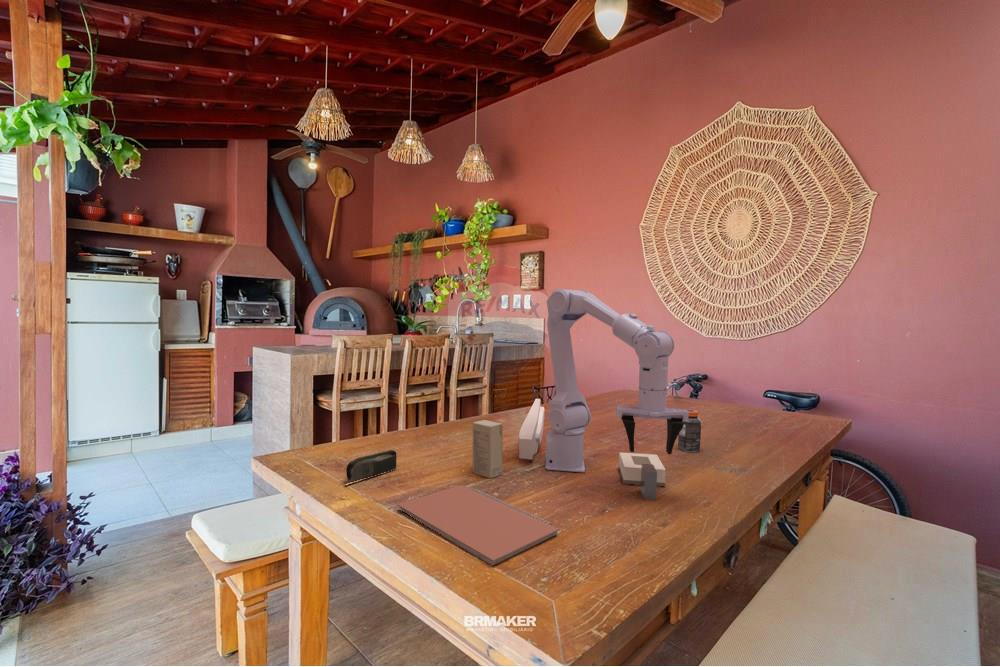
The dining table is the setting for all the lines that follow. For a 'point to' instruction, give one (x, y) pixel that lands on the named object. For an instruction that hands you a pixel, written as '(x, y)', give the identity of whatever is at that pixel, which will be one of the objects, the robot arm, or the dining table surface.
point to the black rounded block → (371, 465)
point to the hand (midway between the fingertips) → (650, 451)
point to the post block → (639, 467)
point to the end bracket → (648, 481)
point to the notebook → (479, 522)
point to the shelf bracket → (531, 431)
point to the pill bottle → (690, 433)
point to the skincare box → (487, 448)
